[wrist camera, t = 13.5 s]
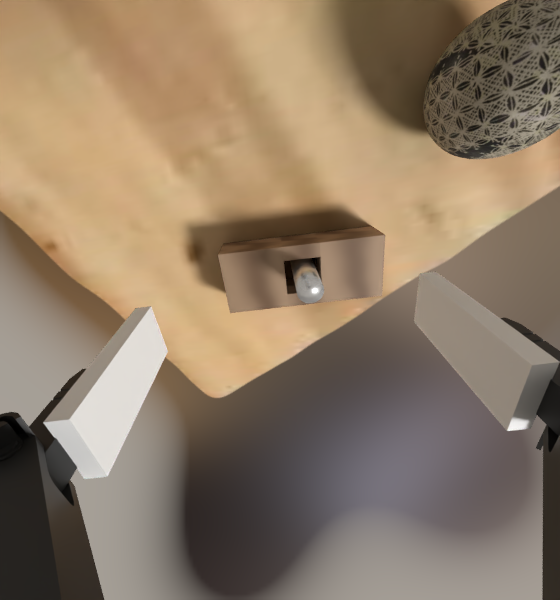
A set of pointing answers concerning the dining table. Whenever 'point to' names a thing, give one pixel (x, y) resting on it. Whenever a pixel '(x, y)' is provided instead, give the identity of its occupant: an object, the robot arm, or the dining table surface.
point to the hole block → (322, 246)
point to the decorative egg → (498, 82)
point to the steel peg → (307, 280)
